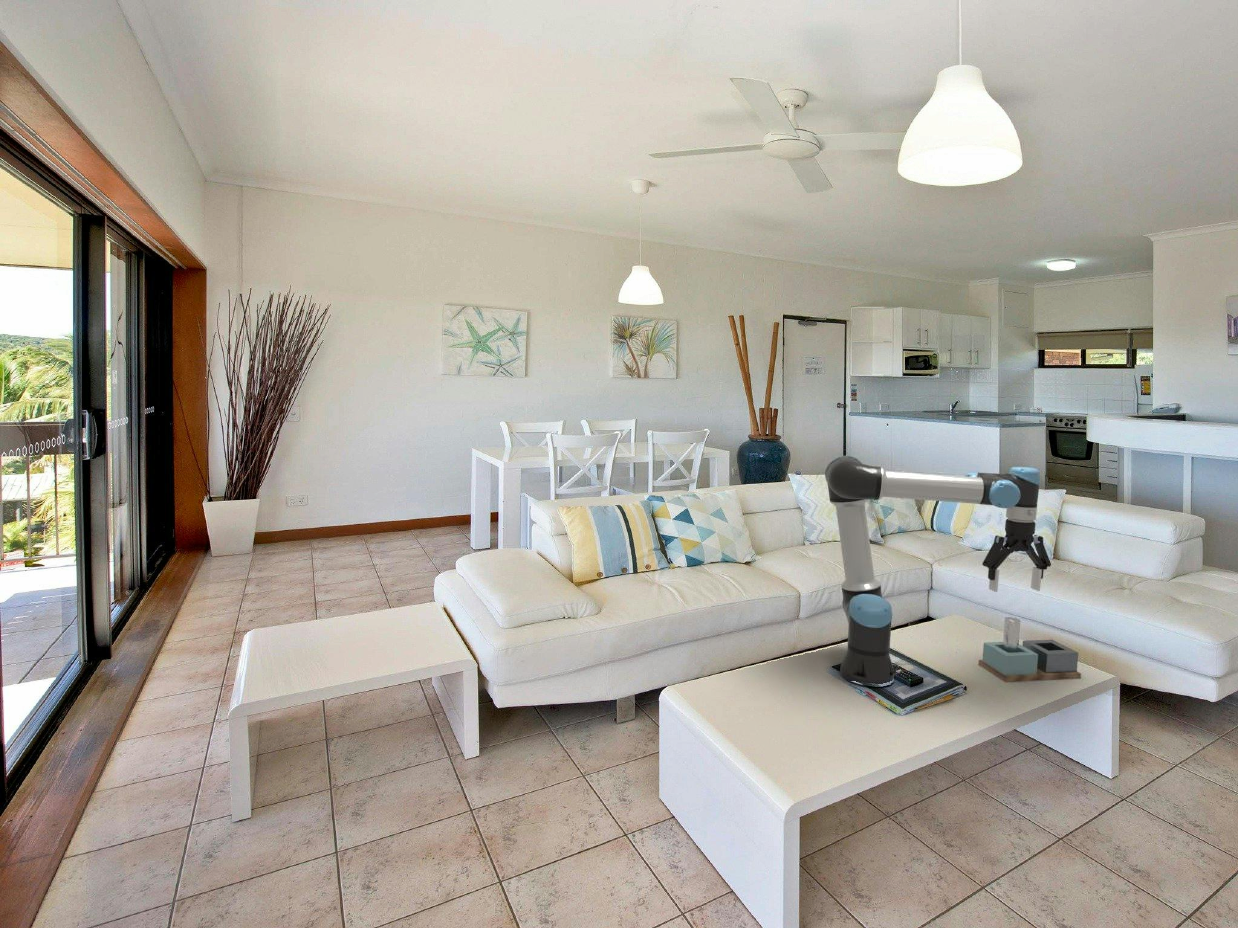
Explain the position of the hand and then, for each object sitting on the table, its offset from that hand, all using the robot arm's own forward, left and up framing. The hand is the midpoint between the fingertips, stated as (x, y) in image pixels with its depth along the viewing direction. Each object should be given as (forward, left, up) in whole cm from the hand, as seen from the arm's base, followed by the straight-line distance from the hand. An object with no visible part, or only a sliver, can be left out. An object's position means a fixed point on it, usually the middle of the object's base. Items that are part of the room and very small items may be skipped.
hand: (1014, 590), depth 192 cm
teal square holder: (0, 0, -24) cm, 24 cm away
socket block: (+13, 0, -24) cm, 27 cm away
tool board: (+7, 0, -26) cm, 26 cm away
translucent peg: (0, 0, -23) cm, 23 cm away
